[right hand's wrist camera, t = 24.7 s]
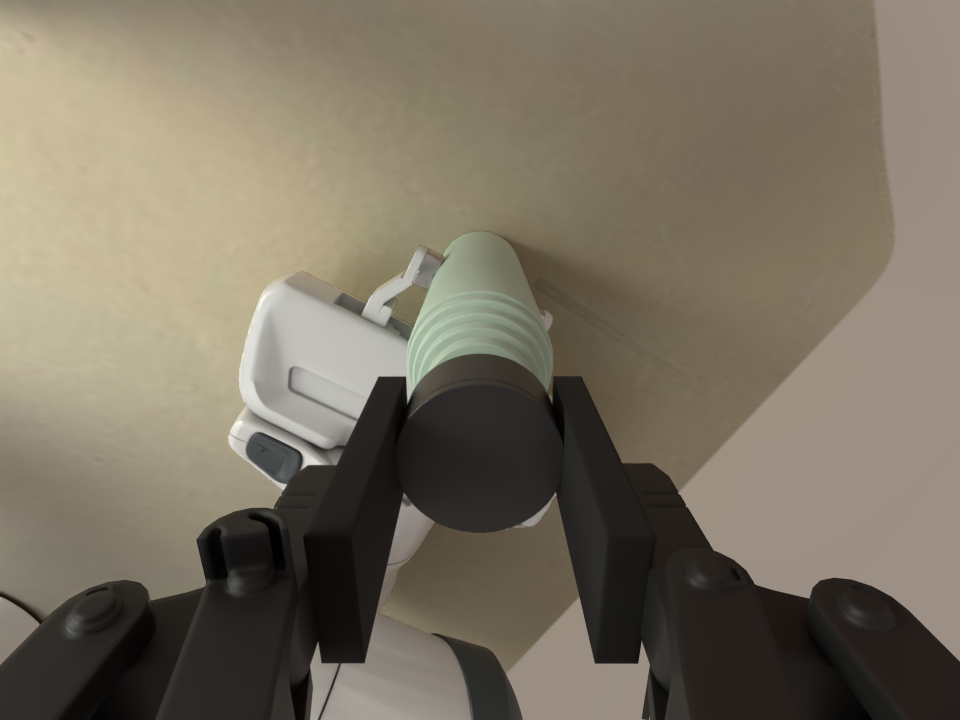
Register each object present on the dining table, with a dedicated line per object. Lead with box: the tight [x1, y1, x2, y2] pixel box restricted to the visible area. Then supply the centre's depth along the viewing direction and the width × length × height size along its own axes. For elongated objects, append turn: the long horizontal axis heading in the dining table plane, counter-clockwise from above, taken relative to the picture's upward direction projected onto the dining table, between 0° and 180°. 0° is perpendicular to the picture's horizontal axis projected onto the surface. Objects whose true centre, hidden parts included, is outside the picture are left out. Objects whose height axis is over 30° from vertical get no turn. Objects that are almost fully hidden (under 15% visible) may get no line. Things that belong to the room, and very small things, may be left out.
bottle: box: [406, 231, 553, 392], centre depth 24 cm, size 5×5×22 cm
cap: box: [396, 354, 564, 533], centre depth 14 cm, size 4×4×2 cm
